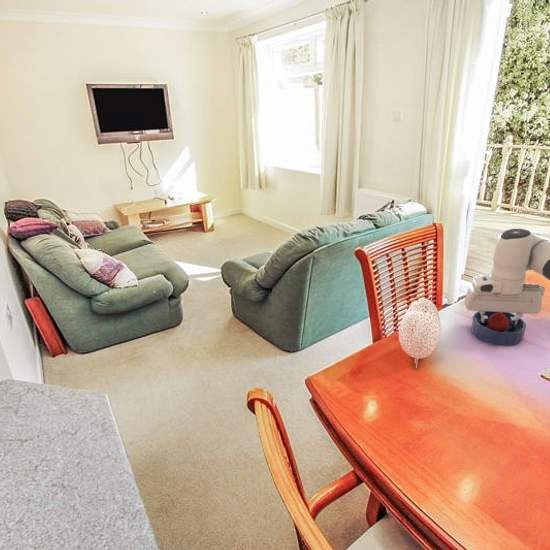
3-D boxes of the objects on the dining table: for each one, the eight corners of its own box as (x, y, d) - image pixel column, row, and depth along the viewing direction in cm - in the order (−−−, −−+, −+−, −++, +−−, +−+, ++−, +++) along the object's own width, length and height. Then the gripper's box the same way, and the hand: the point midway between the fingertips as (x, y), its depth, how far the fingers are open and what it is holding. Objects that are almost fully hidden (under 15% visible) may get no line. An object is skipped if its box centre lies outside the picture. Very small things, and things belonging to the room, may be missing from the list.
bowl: (514, 323, 123) (517, 310, 121) (529, 349, 110) (532, 334, 108) (467, 321, 126) (469, 308, 124) (476, 345, 114) (478, 331, 112)
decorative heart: (430, 381, 101) (436, 327, 94) (390, 370, 106) (393, 318, 99) (440, 345, 115) (446, 296, 108) (405, 337, 120) (408, 290, 113)
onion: (504, 340, 115) (508, 317, 111) (483, 334, 118) (487, 312, 115) (509, 331, 118) (513, 309, 115) (489, 326, 122) (493, 304, 119)
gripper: (542, 279, 111) (532, 319, 117) (466, 277, 116) (461, 315, 122) (550, 289, 106) (540, 330, 111) (471, 286, 111) (465, 325, 117)
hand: (498, 322), depth 117 cm, fingers open, 7 cm apart
